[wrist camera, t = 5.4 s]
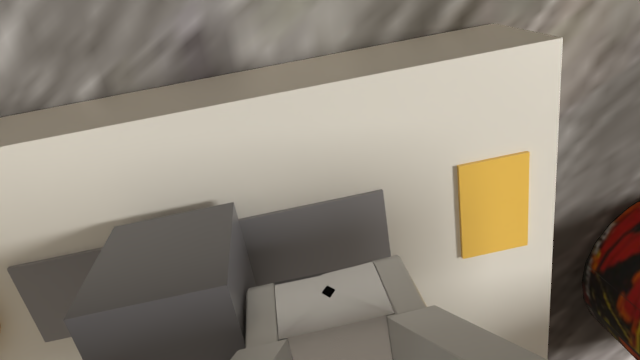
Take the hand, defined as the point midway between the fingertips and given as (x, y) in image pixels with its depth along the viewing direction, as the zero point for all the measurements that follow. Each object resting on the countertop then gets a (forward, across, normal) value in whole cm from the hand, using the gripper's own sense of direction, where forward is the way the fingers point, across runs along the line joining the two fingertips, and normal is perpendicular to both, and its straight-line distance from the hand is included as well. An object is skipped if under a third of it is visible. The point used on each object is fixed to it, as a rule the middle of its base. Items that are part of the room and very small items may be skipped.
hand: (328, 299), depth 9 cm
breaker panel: (+5, +2, +3) cm, 6 cm away
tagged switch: (+1, +3, 0) cm, 3 cm away
